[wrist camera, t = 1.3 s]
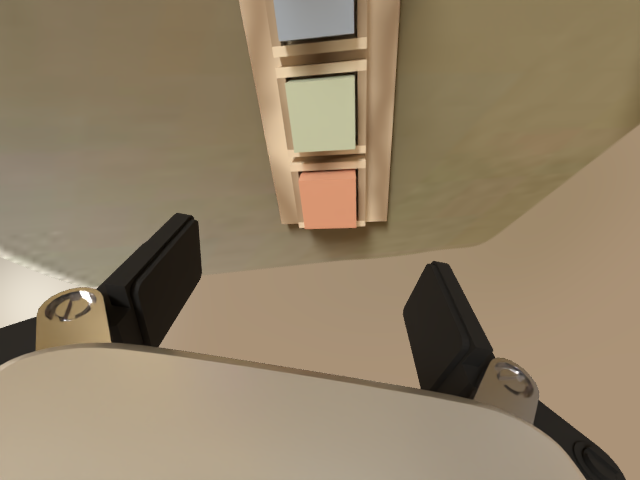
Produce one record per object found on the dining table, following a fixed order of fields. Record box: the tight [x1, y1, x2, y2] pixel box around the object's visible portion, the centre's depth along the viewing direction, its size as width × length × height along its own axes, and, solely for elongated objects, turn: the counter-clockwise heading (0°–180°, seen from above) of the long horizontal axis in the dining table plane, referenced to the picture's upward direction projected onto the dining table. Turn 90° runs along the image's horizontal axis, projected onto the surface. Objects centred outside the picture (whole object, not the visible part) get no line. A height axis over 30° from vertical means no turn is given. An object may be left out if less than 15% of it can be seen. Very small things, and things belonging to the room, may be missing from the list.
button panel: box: [239, 0, 400, 228], centre depth 29 cm, size 14×28×4 cm, turn 5°
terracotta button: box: [298, 169, 356, 229], centre depth 32 cm, size 6×6×3 cm
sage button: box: [285, 74, 355, 153], centre depth 27 cm, size 6×6×3 cm
